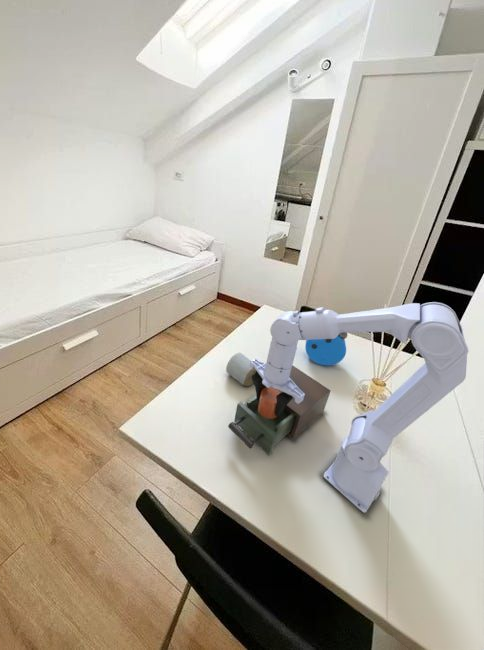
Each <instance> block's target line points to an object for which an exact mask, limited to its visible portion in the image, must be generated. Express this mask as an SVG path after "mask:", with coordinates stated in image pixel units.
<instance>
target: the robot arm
mask: <svg viewBox="0 0 484 650" xmlns="http://www.w3.org/2000/svg"><path fill="white" fill-rule="evenodd" d="M457 315H458V314H456V311H454V309H452V307H450V306H449V305H447V304H445V303H443V302H437V301H432V302H430V301H429V302H425V303H422V304H421V303H419V302H418V303H417V302H411V303H406V304H401V305H397V306H390V307H385V308H384V307H383V308H377V309H370V310H363V311H355V312H348V313H341V314H339V313H338V312H336V311H334V310H333V309H325V308H324V307H322V306H321V307H317V308H316V309H315V310H310V311H302V312H300V310H295V311H293V310H287V311H284V312H283V313H281V314H280V315H279V316H278V317H277V318H276V319H275V320H274V321H273V323H272V324H271V326H270V330H269V331H270V335H271V340H270V343H269V348H268V349H269V350H268V353H267V357H266V362H263V361H260V360H258V359H257V358H254V359H253V360H251V361H250V368H251V369H255V370H256V373H255V374H254V375H252V380H253V384H254V389H255V396H257V400H258V401H259V398H260V394H261V391H262V389H264V388H266V387H268V388H269V387H274V388H276V389H278V390H280V391H283V392H281V393H280V394H278V395H277V396H276V398H277V406H276V410H275V415H276V416H279V415H280V414H281V413H282V412H283V410H284V408H285V407H286V405H287V404H288V403H289V402H290V401H291V400H292V399H293V398H294V399H295V402H296V403H297V404H299V403H300V402H302V401H303V399H304V396H305V393H303V392H302V391H301V390H300V389H299V388H298V387H297V386H296V385H295V383H294V382H293V381H292V380H291V379H290V378H289V376H290V372H291V369H292V365H293V366H294V361H295V357H296V353H297V349H298V343H299V341H306V340H315V339H334V338H336V337H337V336H338V335H339V333H340V332H347V333H388V334H390V335H392V337H394V338H396V339H397V340H398V341H399V342H401V343H402V344H404V345H407V343H408V339H410V340H411V344H412V346H413V348H414V349H415V350H416V352H418V354H419V355H420V356H421V357H422V358H423V360H424V362H425V363H423V364H422V365H421V366H420V367H419V369H417V370H416V371H415V372H414V373H413V374H412V375H411V376H410V377H408V379H406V381H404V382H403V384H401V385H400V386H399V387H398V388H397V389H396V390H395V391H394V392H393V393H392V394H391V395H390V396H388V398H386V399H385V400H384V401H383V402H382V403H381V404H380V405H379V406H378V407H377V408H375V410H372V409H369V410H368V411H367V412H365V413H362V414H358V415H356V416H354V417H353V419H352V420H351V426H350V430H349V435H348V436H346V437H345V438H344V439H343V440H342V442H341V445H340V447H339V450H338V452H337V454H336V457H335V460H334V461H333V463H332V464H331V465H330V466H329V467H328V468H327V470H326V471H325V472H324V473H323V475H322V477H323V478H324V479H325V481H327V482H328V483H329V484H331V486H333V487H334V488H335V489H336V490H337V491H338V492H340V493H341V494H342V495H343V496H344V497H345V498H346V499H347V500H348V501H349V502H351V504H353V505H354V506H355V507H356V508H357V509H359V511H361V512H362V513H364V514H366V513H367V511H368V510H369V509H370V507H371V505H372V504H373V502H374V501H376V500H377V499H378V497H379V496H380V493H381V492H380V491H381V488H382V486H383V485H384V483H385V481H386V479H387V477H388V475H389V473H390V471H389V470H388V469H387V468H386V467H385V466H384V465H383V464H382V462H381V461H382V459H383V458H384V457H385V456H386V455H387V454H388V451H389V449H390V448H391V445H392V443H393V440H395V438H396V437H397V436H398V435H400V434H401V433H402V432H403V431H405V430H406V429H407V428H408V427H409V426H411V425H412V424H413V423H415V422H416V421H417V420H418V419H419V418H421V417H422V416H423V415H425V414H426V412H428V411H429V410H430V409H432V407H434V406H435V405H436V404H438V403H439V402H440V401H442V400H443V399H444V398H445V397H446V396H447V395H449V394H450V393H451V392H452V391H454V390H455V389H456V388H457V387H458V386H460V385H461V384H463V382H464V381H465V380H466V377H467V363H468V354H469V351H470V350H469V347H468V345H467V343H466V340H465V336H464V330H463V327H462V325H461V322H460V320H459V318H458V316H457Z"/></svg>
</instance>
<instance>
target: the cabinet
mask: <svg viewBox="0 0 484 650" xmlns="http://www.w3.org/2000/svg"><path fill="white" fill-rule="evenodd" d="M289 378H290V379H291V380H292V381H293V382H294V383H295V385H296V386H297V387H298V388H299V389H300V390H301V391H302V392H303V393H305V396H304V399H303V401H302V402H300V403H299V404H297V403H296V402H295V399H294V398H293V399H292V400H291V401H290V402H289V403H288V404H287V405H286V408H287V409H288V410H290V411H291V412H292V413H293V414H295V415H296V420H295V423H294V426H293V430H292V431H290V432H289V433H288V434H287V435H286V436H288V437H289V438H290V439H291V440H295V439H296V438H298V436H299V435H300V434H301V433H302V432H303V431H305V430H306V429H307V428H308V427H309V426H310V425H312V424H313V423H314V422H315V421H316V420H317V419H318V418H319V417H321V416H322V414H324V411H325V409H326V405H327V403H328V400H329V396H330V394H331V392H332V390H331V389H330V388H328V387H327V386H325V385H324V384H323V383H320V382H319V381H317V380H316V379H314V378H312V377H311V376H310V375H308V374H306V373H305V372H303V371H302V370H300V369H299V368H297V367H296V366H295V365H294V364H293V365H292V369H291V372H290V376H289ZM271 388H274V387H271ZM274 389H276V388H274ZM276 390H278V389H276ZM278 391H279V392H280V393H281V392H283V391H280V390H278Z"/></svg>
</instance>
